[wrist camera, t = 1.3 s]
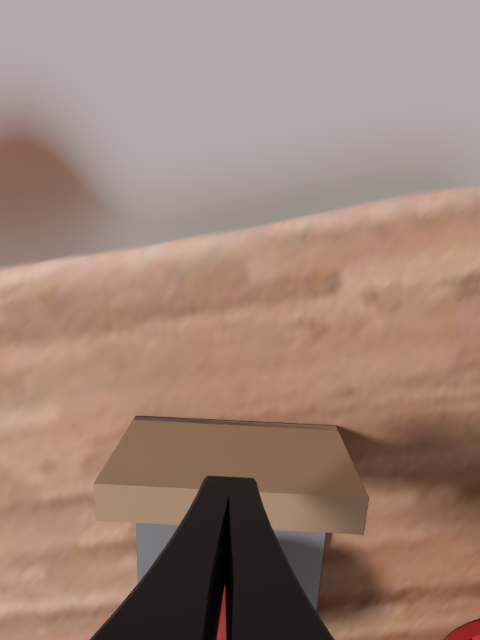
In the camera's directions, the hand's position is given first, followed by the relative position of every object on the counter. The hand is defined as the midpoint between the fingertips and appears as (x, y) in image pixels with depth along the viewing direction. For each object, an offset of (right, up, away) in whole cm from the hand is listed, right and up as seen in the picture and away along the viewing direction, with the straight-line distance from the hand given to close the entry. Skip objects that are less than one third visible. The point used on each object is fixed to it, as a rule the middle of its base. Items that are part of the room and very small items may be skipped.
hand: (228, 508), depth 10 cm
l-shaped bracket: (0, -7, +10) cm, 12 cm away
